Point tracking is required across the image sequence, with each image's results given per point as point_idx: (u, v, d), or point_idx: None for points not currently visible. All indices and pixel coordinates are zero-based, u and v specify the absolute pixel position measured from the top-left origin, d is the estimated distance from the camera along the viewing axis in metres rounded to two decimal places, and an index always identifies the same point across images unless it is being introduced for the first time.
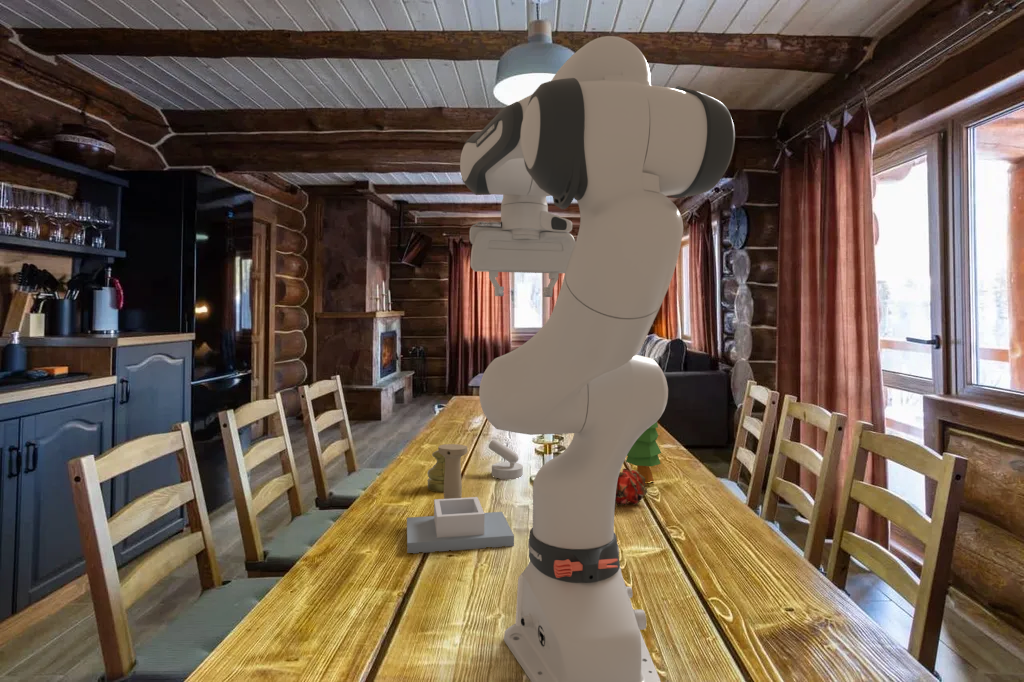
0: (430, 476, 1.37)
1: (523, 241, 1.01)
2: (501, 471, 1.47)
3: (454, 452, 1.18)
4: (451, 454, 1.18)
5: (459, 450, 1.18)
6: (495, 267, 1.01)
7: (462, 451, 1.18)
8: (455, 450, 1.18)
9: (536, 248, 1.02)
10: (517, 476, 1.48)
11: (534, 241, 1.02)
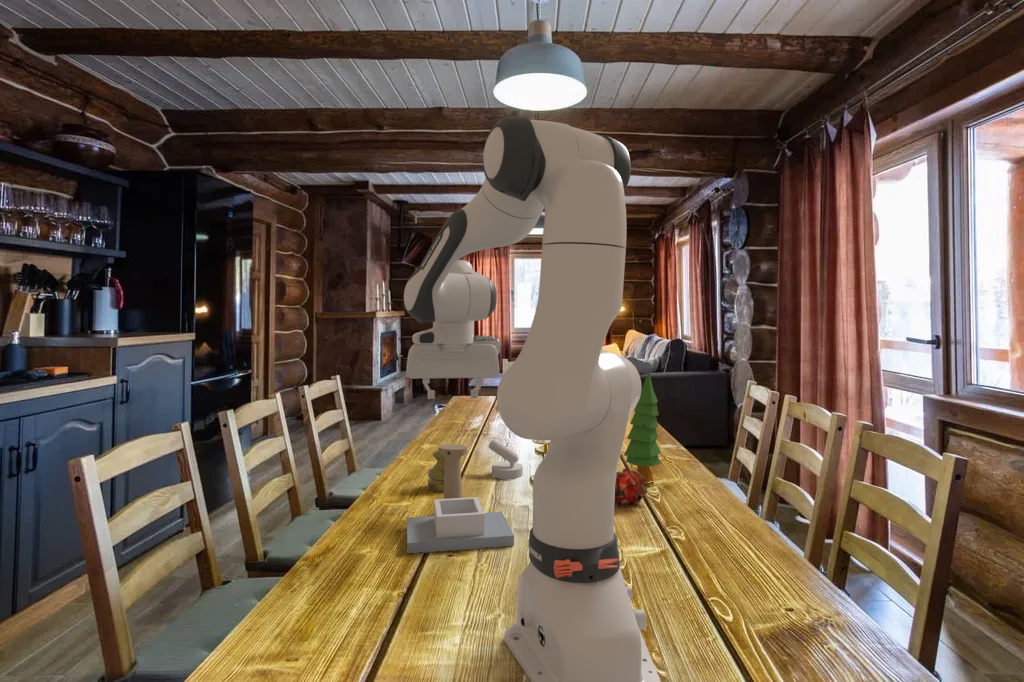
0: (430, 476, 1.37)
1: None
2: (501, 471, 1.47)
3: (454, 452, 1.18)
4: (451, 454, 1.18)
5: (459, 450, 1.18)
6: None
7: (462, 451, 1.18)
8: (455, 450, 1.18)
9: None
10: (517, 476, 1.48)
11: None
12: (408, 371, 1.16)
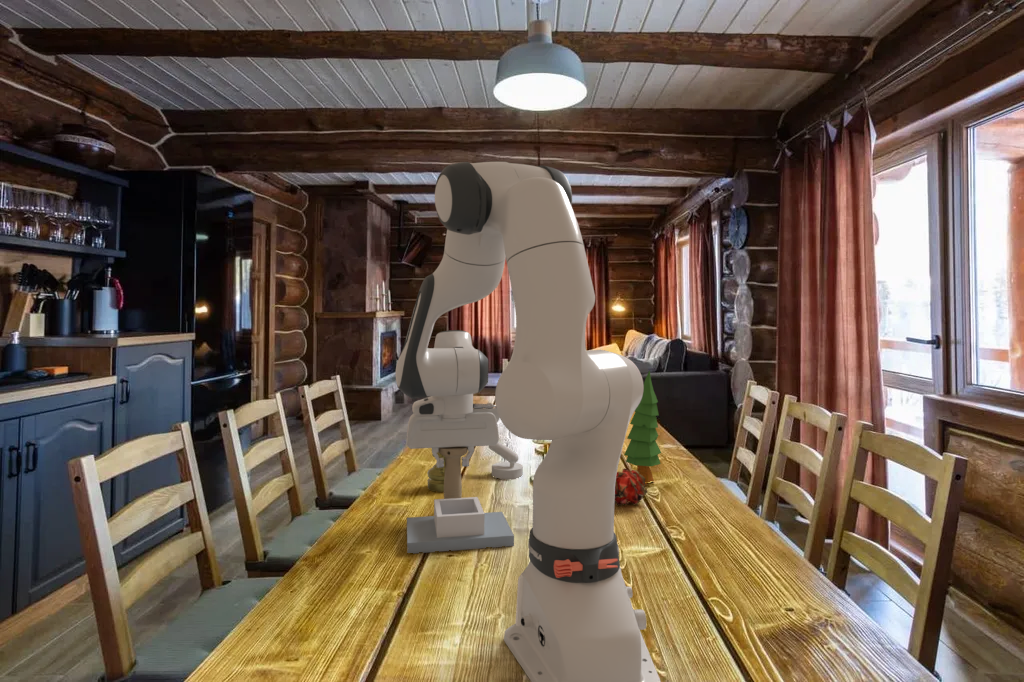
0: (430, 476, 1.37)
1: None
2: (501, 471, 1.47)
3: (454, 452, 1.18)
4: (451, 454, 1.18)
5: (459, 450, 1.18)
6: None
7: (462, 451, 1.18)
8: (455, 450, 1.18)
9: None
10: (517, 476, 1.48)
11: None
12: (408, 442, 1.16)
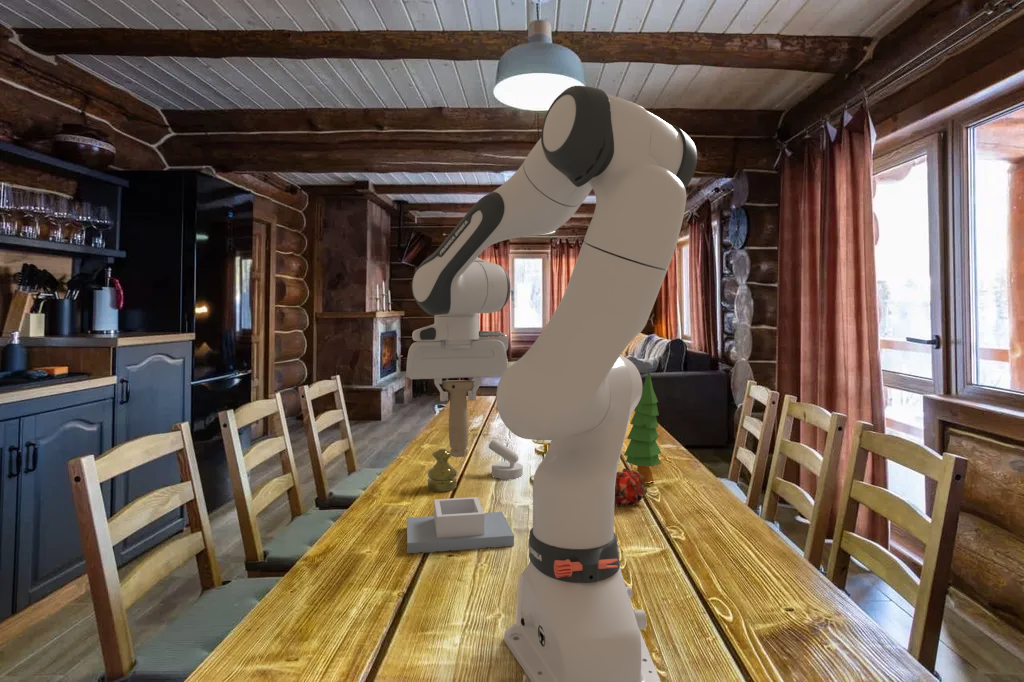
0: (430, 476, 1.37)
1: None
2: (501, 471, 1.47)
3: (459, 385, 1.07)
4: (456, 388, 1.07)
5: (465, 383, 1.07)
6: None
7: (467, 384, 1.07)
8: (460, 383, 1.07)
9: None
10: (517, 476, 1.48)
11: None
12: (408, 371, 1.05)
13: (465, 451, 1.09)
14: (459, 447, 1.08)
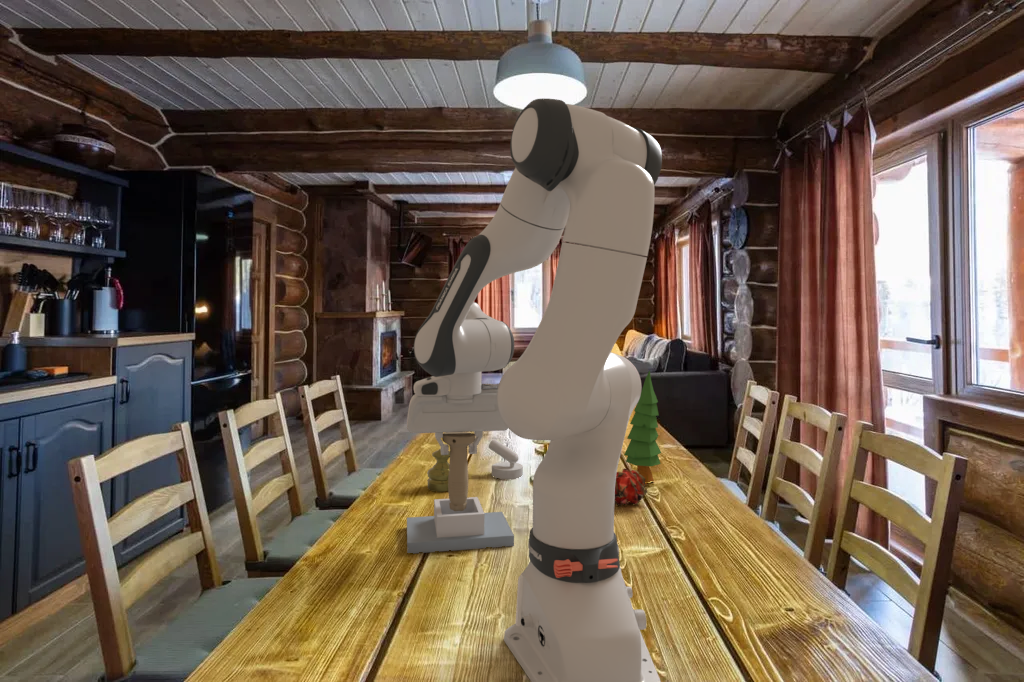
0: (430, 476, 1.37)
1: None
2: (501, 471, 1.47)
3: (460, 440, 1.05)
4: (457, 442, 1.05)
5: (466, 438, 1.05)
6: None
7: (468, 439, 1.06)
8: (461, 438, 1.05)
9: None
10: (517, 476, 1.48)
11: None
12: (409, 425, 1.04)
13: (464, 505, 1.08)
14: (458, 501, 1.07)
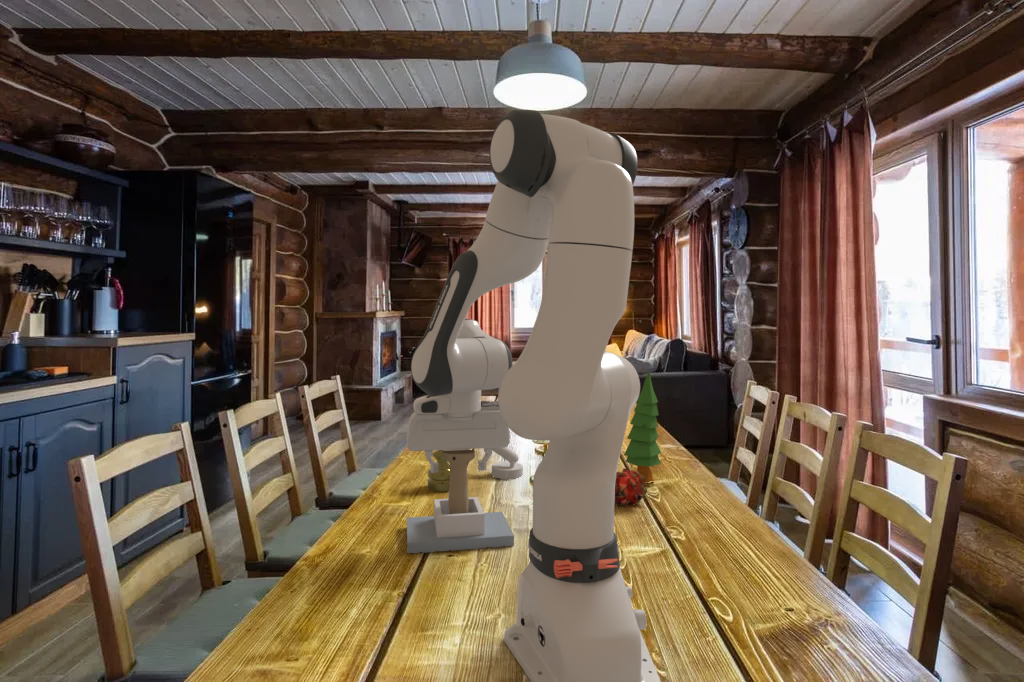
0: (430, 476, 1.37)
1: None
2: (501, 471, 1.47)
3: (460, 457, 1.05)
4: (457, 460, 1.06)
5: (466, 455, 1.06)
6: None
7: (468, 456, 1.06)
8: (461, 455, 1.06)
9: None
10: (517, 476, 1.48)
11: None
12: (409, 443, 1.04)
13: None
14: None
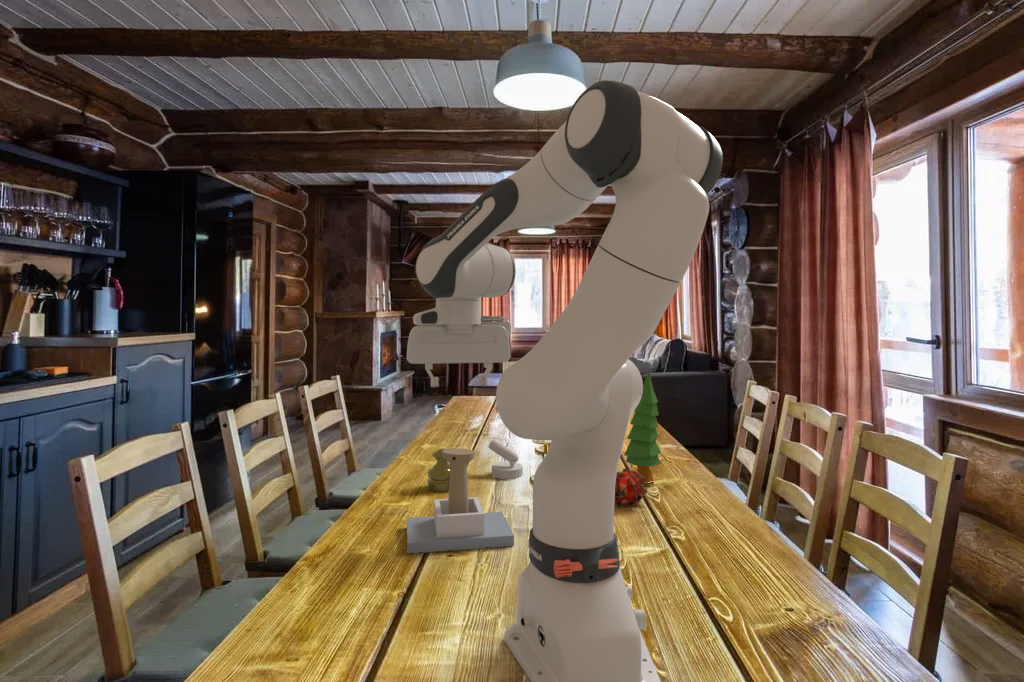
0: (430, 476, 1.37)
1: None
2: (501, 471, 1.47)
3: (460, 457, 1.05)
4: (457, 460, 1.06)
5: (466, 455, 1.06)
6: None
7: (468, 456, 1.06)
8: (461, 455, 1.06)
9: None
10: (517, 476, 1.48)
11: None
12: (409, 355, 1.03)
13: None
14: None
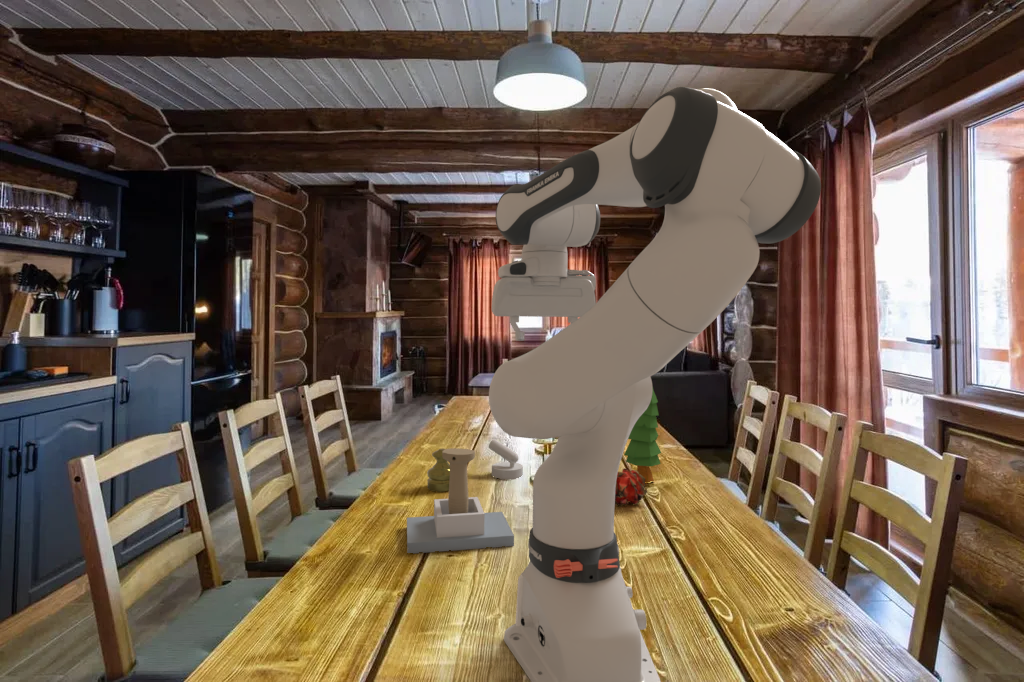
0: (430, 476, 1.37)
1: None
2: (501, 471, 1.47)
3: (460, 457, 1.05)
4: (457, 460, 1.06)
5: (465, 455, 1.06)
6: None
7: (468, 456, 1.06)
8: (461, 455, 1.06)
9: None
10: (517, 476, 1.48)
11: None
12: (496, 307, 1.02)
13: None
14: None
